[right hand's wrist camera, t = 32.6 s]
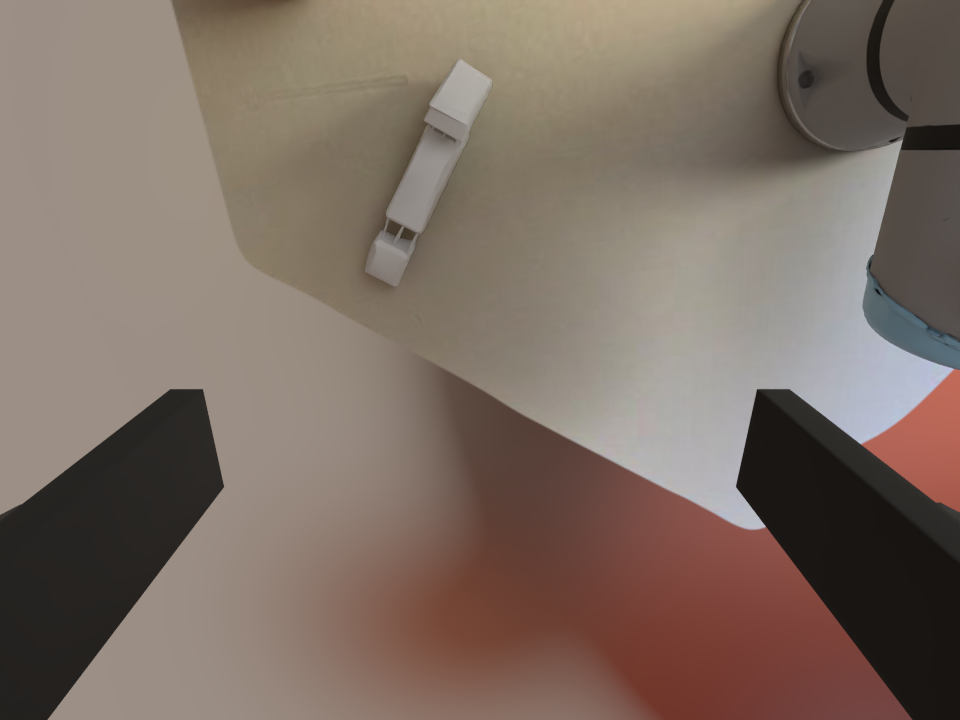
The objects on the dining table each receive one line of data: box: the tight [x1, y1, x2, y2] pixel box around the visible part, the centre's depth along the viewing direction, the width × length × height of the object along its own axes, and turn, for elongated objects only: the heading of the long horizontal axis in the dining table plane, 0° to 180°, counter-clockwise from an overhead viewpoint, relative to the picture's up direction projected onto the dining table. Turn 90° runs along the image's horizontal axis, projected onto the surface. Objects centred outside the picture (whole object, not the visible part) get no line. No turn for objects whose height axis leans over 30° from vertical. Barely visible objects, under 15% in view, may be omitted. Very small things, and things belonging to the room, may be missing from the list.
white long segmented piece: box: [364, 59, 492, 287], centre depth 46 cm, size 20×4×7 cm, turn 153°
